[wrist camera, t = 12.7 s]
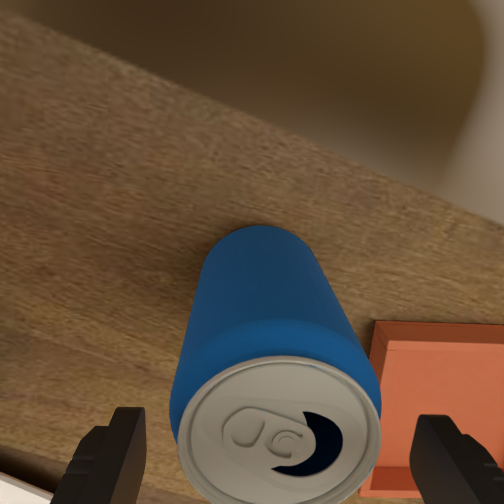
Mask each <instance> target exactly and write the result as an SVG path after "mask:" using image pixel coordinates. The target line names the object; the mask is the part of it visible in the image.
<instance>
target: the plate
mask: <svg viewBox="0 0 504 504" xmlns="http://www.w3.org/2000/svg"><path fill="white" fill-rule="evenodd" d="M53 496H54V494H53V493H50V492H48V491H45V490H43V489H41V488H38V487H36V486H33V485H31V484H28V483H26V482H24V481H21V480H19V479H16V478H14V477H12V476H9V475H7V474H4V473H2V472H0V504H50V502H51V500H52V498H53Z"/></svg>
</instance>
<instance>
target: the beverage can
mask: <svg viewBox="0 0 504 504" xmlns="http://www.w3.org/2000/svg"><path fill="white" fill-rule="evenodd" d="M381 409H382V400H381V390H380V386H379V382H378V379H377V376H376V374H375V372H374V369H373V367H372V365H371V363H370V361H369V359H368V358H367V356H366V354H365V352H364V350H363V348H362V346H361V344H360V342H359V340H358V338H357V336H356V334H355V333H354V331H353V329H352V327H351V325H350V323H349V321H348V319H347V317H346V315H345V313H344V311H343V310H342V308H341V306H340V304H339V302H338V300H337V298H336V296H335V294H334V292H333V290H332V288H331V287H330V285H329V283H328V281H327V279H326V277H325V275H324V273H323V271H322V269H321V267H320V265H319V264H318V262H317V260H316V258H315V256H314V254H313V253H312V251H311V250H310V248H309V247H308V246H307V245H306V244H305V243H304V242H303V241H302V240H301V239H300V238H299V237H297V236H296V235H294V234H292V233H290V232H288V231H286V230H284V229H281V228H278V227H272V226H262V225H260V226H250V227H245V228H242V229H239V230H236V231H234V232H232V233H230V234H228V235H227V236H225V237H224V238H222V239H221V240H220V241H219V242H218V243H217V244H216V245H215V246H214V247H213V248H212V249H211V251H210V252H209V254H208V255H207V257H206V259H205V261H204V263H203V266H202V269H201V273H200V277H199V281H198V286H197V290H196V294H195V298H194V302H193V306H192V310H191V314H190V318H189V322H188V326H187V330H186V334H185V338H184V342H183V347H182V351H181V355H180V359H179V363H178V367H177V371H176V375H175V379H174V383H173V387H172V391H171V397H170V403H169V415H170V422H171V429H172V432H173V435H174V438H175V441H176V444H177V450H178V456H179V461H180V464H181V467H182V470H183V471H184V473H185V475H186V477H187V479H188V480H189V482H190V483H191V484H192V486H193V487H194V488H195V489H196V490H197V491H198V492H199V493H200V494H201V495H202V496H203V497H204V498H206V499H207V500H208V501H209V502H211V503H212V504H339V503H341V502H342V501H344V500H346V499H347V498H348V497H349V496H351V495H352V494H353V493H354V492H356V490H357V489H358V488H359V487H360V486H361V485H362V484H363V483H364V482H365V481H366V479H367V478H368V477H369V475H370V474H371V472H372V470H373V468H374V467H375V465H376V462H377V459H378V457H379V453H380V449H381V440H382V432H381V424H380V419H381Z"/></svg>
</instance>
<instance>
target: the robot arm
mask: <svg viewBox="0 0 504 504" xmlns="http://www.w3.org/2000/svg"><path fill="white" fill-rule="evenodd" d="M146 453H147V447H146V424H145V409H144V408H143V407H117V408H116V410H115V412H114V414H113V416H112V419H111V421H110V423H109V426H95V427H94V428H93V429H92V430H91V431H90V432H89V433H88V434H87V435H86V436H85V437H83V438H82V439H81V441H80V443H79V445H78V447H77V449H76V451H75V453H74V455H73V458H72V460H71V461H70V463H69V465H68V467H67V469H66V473H65V474H64V475H63V477H62V479H61V481H60V483H59V485H58V487H57V489H56V491H55V493H54V496H53V498H52V500H51V502H50V504H136V500H137V497H138V493H139V489H140V486H141V482H142V478H143V474H144V470H145V464H146ZM409 464H410V470H411V474H412V477H413V480H414V482H415V484H416V486H417V488H418V490H419V492H420V494H421V496H422V498H423V501H424V503H425V504H504V472H503V471H502V469H501V468H499V467H498V464H497V463H496V461H495V460H494V458H493V457H492V456H491V454H490V453H489V452H488V450H487V449H486V448H485V447H484V446H483V445H481V444H480V443H479V442H478V441H476V440H475V439H474V438H473V437H471V436H470V435H469V434H462V433H461V432H460V430H459V429H458V427H457V426H456V424H455V423H454V422H453V420H452V419H451V418H450V417H449V416H448V415H439V414H421V415H419V417H418V419H417V423H416V427H415V432H414V437H413V441H412V446H411V450H410V455H409Z"/></svg>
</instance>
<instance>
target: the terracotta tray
mask: <svg viewBox="0 0 504 504" xmlns="http://www.w3.org/2000/svg"><path fill="white" fill-rule="evenodd" d="M369 361H370V363H371V365H372V367H373V369H374V372H375V374H376V376H377V379H378V382H379V386H380V390H381V400H382V409H381V419H380V424H381V432H382V440H381V449H380V453H379V457H378V459H377V462H376V465H375V467H374V468H373V470H372V472H371V474H370V475H369V477H368V478H367V479H366V481H365V482H364V483H363V484H362V485H361V486H360V487H359V488H358V489H357V491H358V494H359V497H387V498H422V496H421V494H420V492H419V490H418V488H417V486H416V484H415V482H414V480H413V477H412V474H411V470H410V464H409V455H410V450H411V446H412V441H413V437H414V432H415V427H416V423H417V419H418V417H419V415H421V414H439V415H448V416H449V417H450V418H451V419H452V420H453V422H454V423H455V424H456V426H457V427H458V429H459V430H460V432H461V433H462V434H469V435H470V436H471V437H473V438H474V439H475V440H476V441H478V442H479V443H480V444H481V445H483V446H484V447H485V448H486V449H487V450H488V452H489V453H490V454H491V456H492V457H493V458H494V460H495V461H496V463H497V464H498V467H499V468H501V469H502V471H503V472H504V325H488V324H459V323H430V322H401V321H376V322H375V327H374V333H373V339H372V345H371V351H370V356H369Z"/></svg>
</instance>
